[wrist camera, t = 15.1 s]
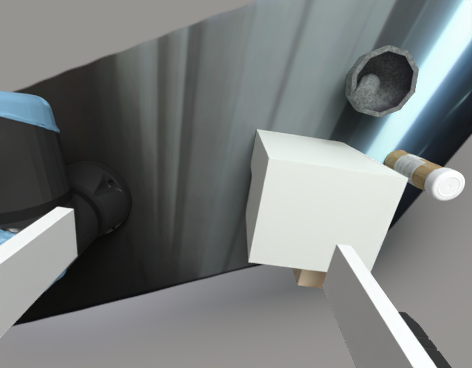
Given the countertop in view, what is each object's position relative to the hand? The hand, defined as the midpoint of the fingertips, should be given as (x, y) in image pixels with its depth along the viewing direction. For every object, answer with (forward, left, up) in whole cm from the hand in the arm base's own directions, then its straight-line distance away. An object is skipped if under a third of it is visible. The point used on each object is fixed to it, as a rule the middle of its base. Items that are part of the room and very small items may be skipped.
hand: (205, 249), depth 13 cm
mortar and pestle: (+21, +11, -37) cm, 44 cm away
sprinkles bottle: (+32, -1, -37) cm, 49 cm away
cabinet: (+13, -6, -37) cm, 39 cm away
